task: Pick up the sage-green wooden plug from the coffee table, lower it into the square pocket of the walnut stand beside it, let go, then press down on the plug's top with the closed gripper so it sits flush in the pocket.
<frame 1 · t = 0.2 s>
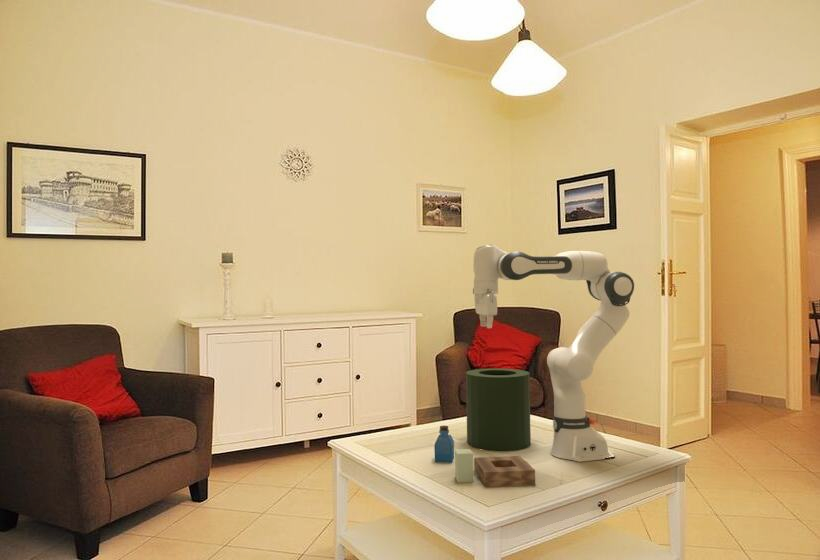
hand: (486, 327, 207), 48 cm above the table, tool pointing down, fingers open, 8 cm apart
perfume bottle: (444, 460, 205), on the table
walnut stand: (503, 477, 185), on the table
sage plug: (464, 479, 184), on the table
flower pot: (498, 443, 228), on the table
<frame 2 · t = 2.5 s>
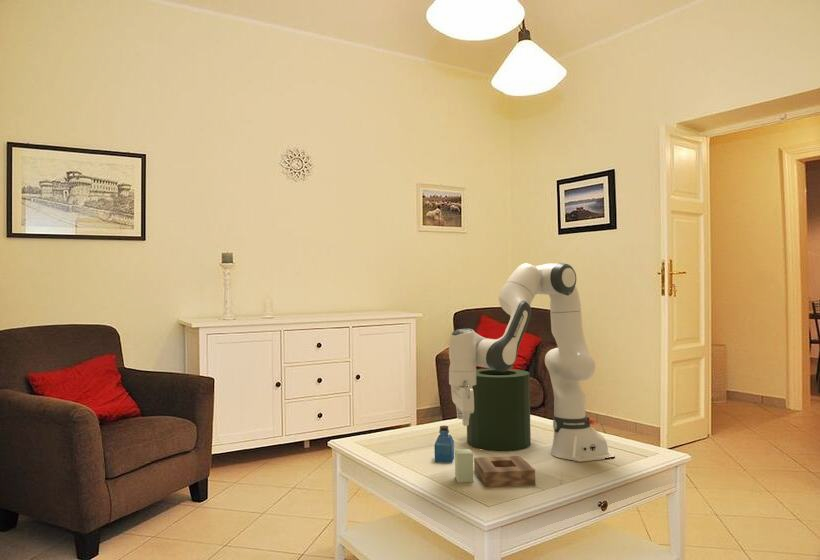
hand: (462, 421, 184), 18 cm above the table, tool pointing down, fingers open, 8 cm apart
nothing on the table moved.
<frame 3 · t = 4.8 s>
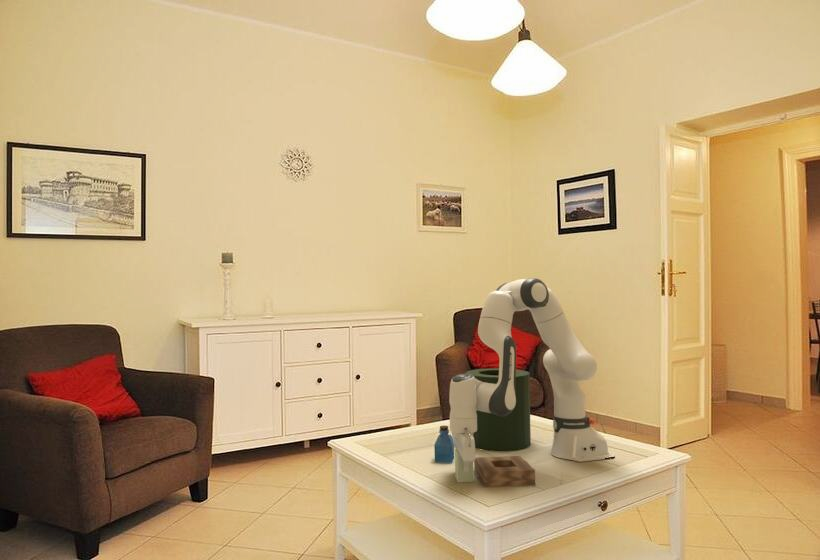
hand: (464, 468, 184), 4 cm above the table, tool pointing down, fingers closed on sage plug, 5 cm apart
sage plug: (464, 479, 184), on the table, touching gripper
everything else where it was.
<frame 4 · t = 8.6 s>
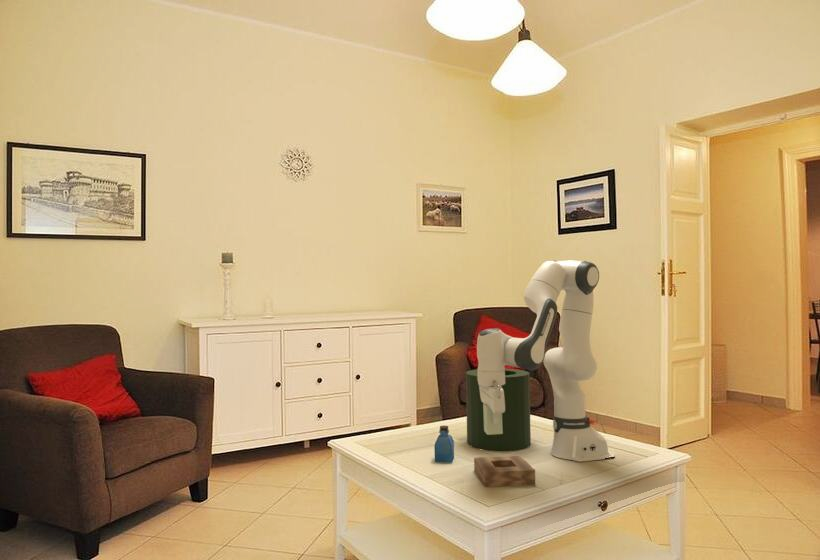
hand: (493, 421, 185), 18 cm above the table, tool pointing down, fingers closed on sage plug, 5 cm apart
sage plug: (493, 432, 185), point 15 cm above the table, touching gripper
everything else where it was.
when the fingers open (6 cm above the table, at t = 12.3 s): sage plug stays where it is, resting on walnut stand.
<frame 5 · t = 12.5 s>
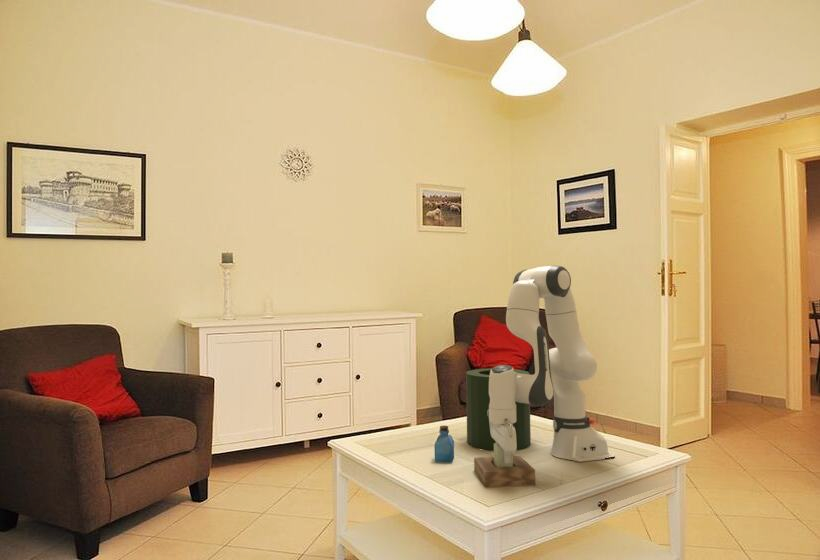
hand: (503, 458, 185), 6 cm above the table, tool pointing down, fingers open, 7 cm apart
sage plug: (503, 472, 185), point 1 cm above the table, touching walnut stand
everything else where it was.
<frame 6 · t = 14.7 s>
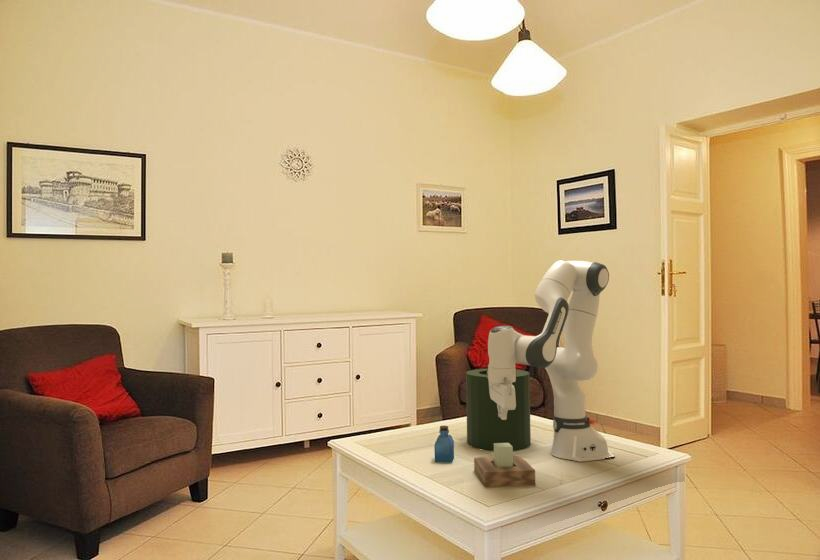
hand: (502, 418, 185), 19 cm above the table, tool pointing down, fingers closed
nothing on the table moved.
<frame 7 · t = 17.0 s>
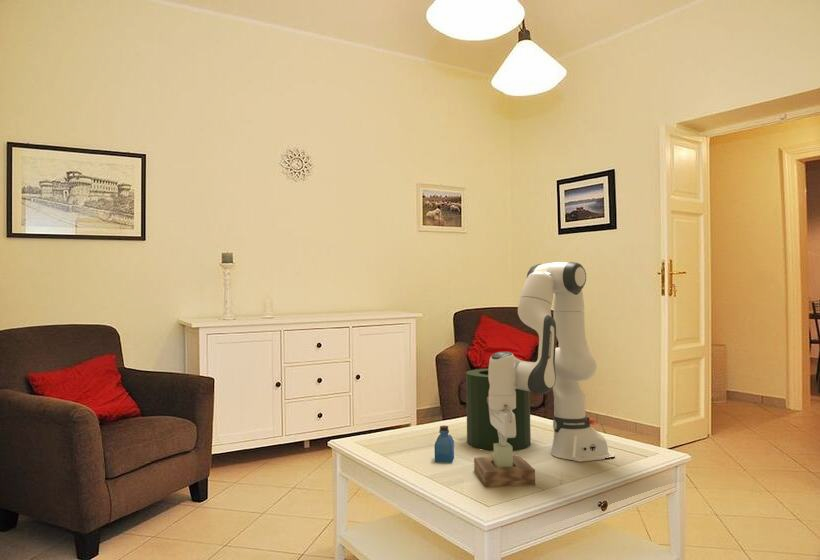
hand: (502, 445, 185), 11 cm above the table, tool pointing down, fingers closed, pressing on sage plug
sage plug: (503, 472, 185), point 2 cm above the table, touching gripper, walnut stand
everything else where it was.
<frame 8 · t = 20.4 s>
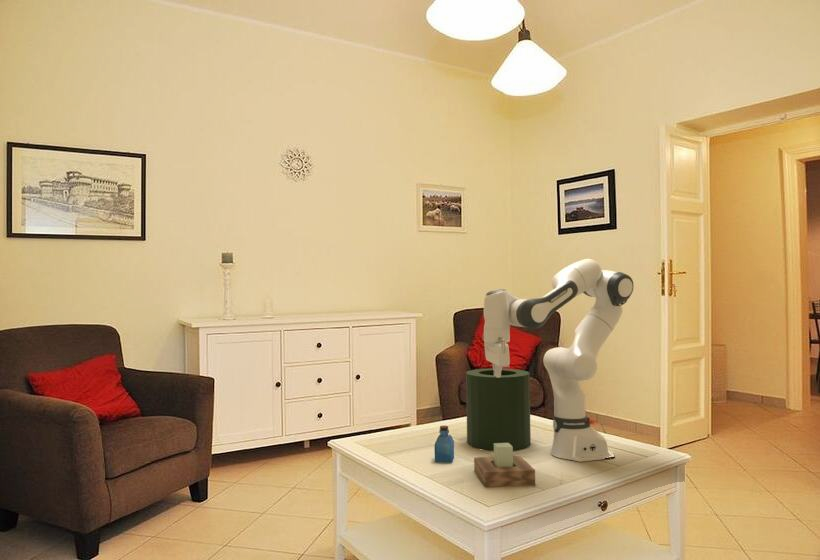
hand: (497, 377, 196), 31 cm above the table, tool pointing down, fingers closed
sage plug: (503, 472, 185), point 1 cm above the table, touching walnut stand
everything else where it was.
at the end: sage plug 0.0 cm off-centre on the walnut stand, point 1.5 cm above the walnut stand's base; sage plug tilted 0°; the gripper is holding nothing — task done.
